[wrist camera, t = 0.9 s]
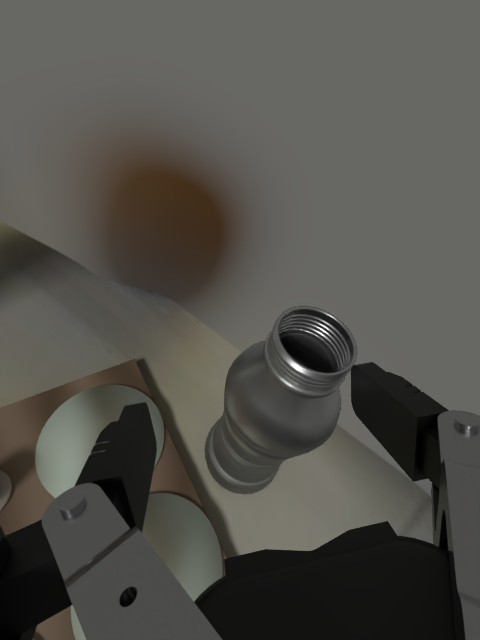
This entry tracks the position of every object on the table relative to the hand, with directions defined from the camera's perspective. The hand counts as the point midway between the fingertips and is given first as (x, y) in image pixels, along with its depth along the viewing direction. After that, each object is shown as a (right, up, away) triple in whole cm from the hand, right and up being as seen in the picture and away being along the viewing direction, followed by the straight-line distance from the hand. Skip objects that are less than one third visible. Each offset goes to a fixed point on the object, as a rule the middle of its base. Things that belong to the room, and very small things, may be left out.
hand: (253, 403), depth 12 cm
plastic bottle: (-1, -10, +17) cm, 19 cm away
